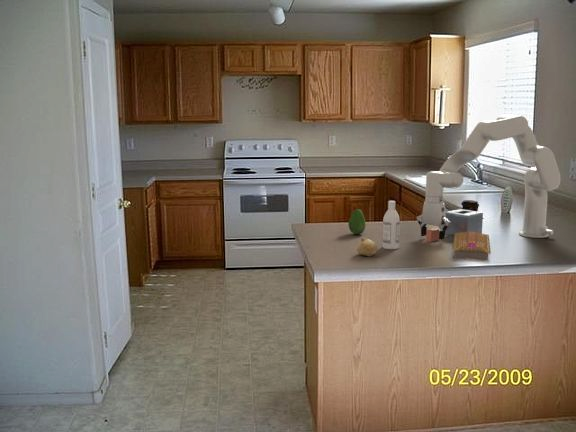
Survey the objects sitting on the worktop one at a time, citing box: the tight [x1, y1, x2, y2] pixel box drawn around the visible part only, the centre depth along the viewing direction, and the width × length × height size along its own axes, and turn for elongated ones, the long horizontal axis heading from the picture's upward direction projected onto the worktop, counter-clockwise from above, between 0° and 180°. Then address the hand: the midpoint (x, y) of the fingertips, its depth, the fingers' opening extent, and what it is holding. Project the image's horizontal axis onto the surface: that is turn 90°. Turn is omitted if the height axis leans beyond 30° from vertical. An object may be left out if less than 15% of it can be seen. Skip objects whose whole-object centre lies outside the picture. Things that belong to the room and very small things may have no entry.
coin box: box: [445, 208, 484, 238], centre depth 279 cm, size 12×12×11 cm
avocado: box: [348, 208, 366, 235], centre depth 282 cm, size 8×8×12 cm
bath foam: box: [381, 200, 401, 250], centre depth 254 cm, size 7×7×20 cm
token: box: [425, 228, 440, 243], centre depth 269 cm, size 2×6×5 cm, turn 130°
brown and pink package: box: [452, 231, 492, 261], centre depth 252 cm, size 35×14×6 cm, turn 163°
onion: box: [356, 237, 378, 257], centre depth 243 cm, size 8×8×7 cm
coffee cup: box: [460, 199, 480, 212], centre depth 299 cm, size 9×8×13 cm
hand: (432, 237), depth 270 cm, fingers open, 9 cm apart
